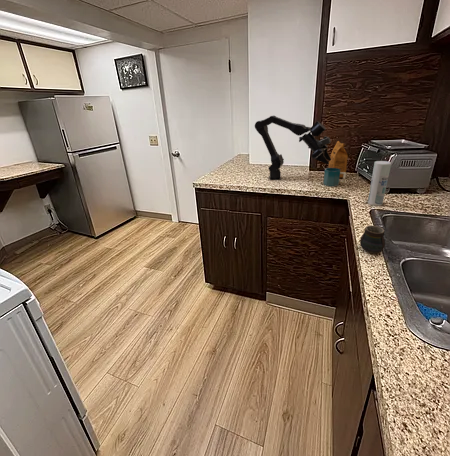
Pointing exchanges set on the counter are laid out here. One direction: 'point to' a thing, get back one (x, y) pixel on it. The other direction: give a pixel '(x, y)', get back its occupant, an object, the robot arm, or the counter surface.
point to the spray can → (379, 182)
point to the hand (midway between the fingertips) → (329, 162)
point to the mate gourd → (373, 239)
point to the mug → (333, 176)
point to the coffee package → (339, 158)
